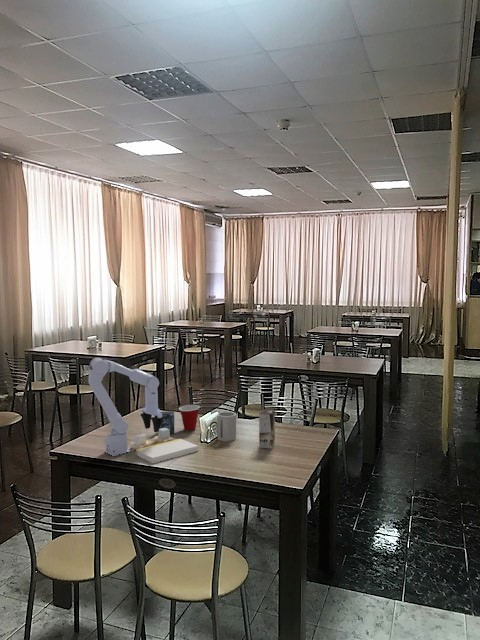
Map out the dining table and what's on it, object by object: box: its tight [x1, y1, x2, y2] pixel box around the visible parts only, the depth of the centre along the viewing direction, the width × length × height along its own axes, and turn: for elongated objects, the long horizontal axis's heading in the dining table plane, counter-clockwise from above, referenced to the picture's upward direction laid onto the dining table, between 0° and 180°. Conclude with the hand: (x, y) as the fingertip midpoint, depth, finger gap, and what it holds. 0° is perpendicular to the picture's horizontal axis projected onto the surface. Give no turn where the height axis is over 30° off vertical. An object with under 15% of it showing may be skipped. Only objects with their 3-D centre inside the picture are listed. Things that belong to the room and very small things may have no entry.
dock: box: [135, 438, 199, 464], centre depth 234 cm, size 24×14×2 cm, turn 132°
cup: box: [216, 411, 237, 442], centre depth 256 cm, size 9×9×12 cm
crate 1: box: [133, 432, 147, 445], centre depth 239 cm, size 4×4×4 cm
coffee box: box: [258, 408, 276, 449], centre depth 244 cm, size 9×6×16 cm
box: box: [159, 410, 175, 435], centre depth 265 cm, size 8×6×11 cm
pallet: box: [129, 435, 175, 451], centre depth 244 cm, size 18×9×3 cm, turn 132°
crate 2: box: [157, 428, 171, 439], centre depth 248 cm, size 4×4×4 cm
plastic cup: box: [178, 404, 200, 431], centre depth 270 cm, size 11×11×12 cm
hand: (152, 430), depth 243 cm, fingers open, 7 cm apart
